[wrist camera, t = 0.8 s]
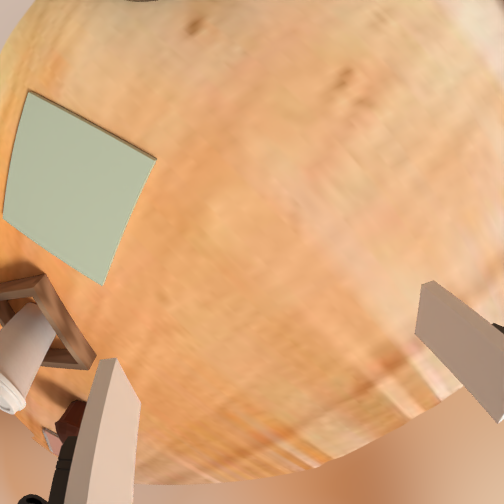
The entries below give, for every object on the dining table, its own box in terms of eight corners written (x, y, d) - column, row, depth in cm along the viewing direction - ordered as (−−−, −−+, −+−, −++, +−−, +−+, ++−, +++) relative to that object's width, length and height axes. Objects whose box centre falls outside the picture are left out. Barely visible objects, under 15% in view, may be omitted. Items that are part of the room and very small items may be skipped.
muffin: (124, 431, 53) (111, 470, 44) (82, 421, 54) (67, 456, 45) (102, 401, 47) (84, 445, 39) (57, 390, 48) (38, 428, 39)
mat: (5, 216, 29) (2, 218, 28) (32, 91, 22) (28, 92, 21) (104, 282, 32) (102, 286, 32) (156, 159, 25) (154, 160, 25)
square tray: (-7, 284, 35) (-18, 295, 33) (45, 273, 33) (33, 287, 30) (38, 352, 42) (30, 364, 40) (96, 355, 40) (88, 370, 37)
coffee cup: (21, 282, 34) (-40, 356, 21) (72, 323, 37) (21, 408, 24) (14, 315, 38) (-34, 381, 25) (58, 351, 41) (18, 424, 28)
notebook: (43, 423, 63) (40, 429, 61) (94, 450, 66) (92, 455, 64) (51, 448, 76) (49, 452, 74) (93, 468, 79) (91, 472, 77)
